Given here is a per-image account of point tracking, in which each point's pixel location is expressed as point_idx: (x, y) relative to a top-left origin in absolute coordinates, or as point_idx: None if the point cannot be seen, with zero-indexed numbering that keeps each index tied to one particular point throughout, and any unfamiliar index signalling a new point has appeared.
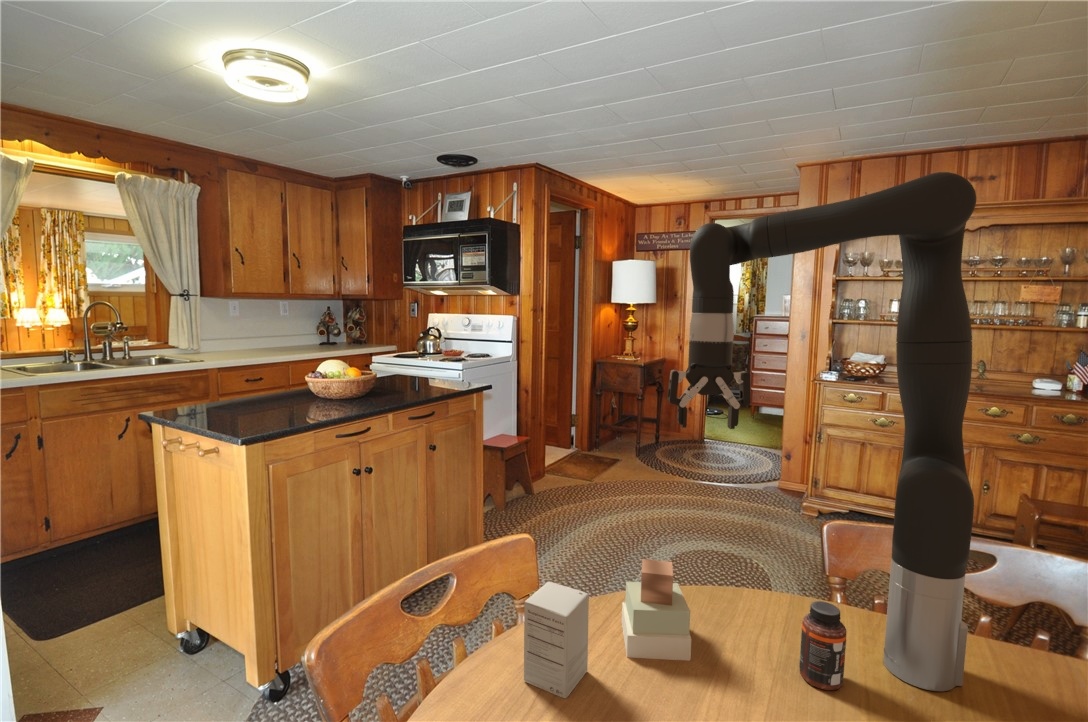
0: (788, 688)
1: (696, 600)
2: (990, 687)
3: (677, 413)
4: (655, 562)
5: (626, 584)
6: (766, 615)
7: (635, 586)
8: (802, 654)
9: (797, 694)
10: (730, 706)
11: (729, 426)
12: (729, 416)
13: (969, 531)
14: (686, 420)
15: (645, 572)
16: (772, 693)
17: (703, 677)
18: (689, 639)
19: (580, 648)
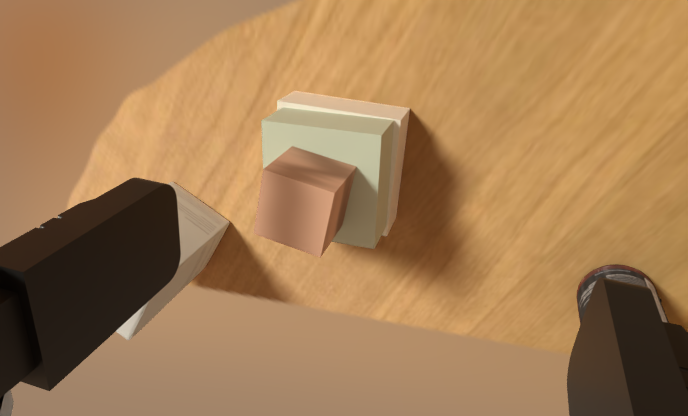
0: (536, 301)
1: (493, 3)
2: None
3: (25, 235)
4: (292, 191)
5: (262, 128)
6: (652, 83)
7: (279, 143)
8: (580, 312)
9: (542, 314)
10: (420, 315)
11: (578, 346)
12: (597, 406)
13: None
14: (137, 306)
15: (261, 235)
16: (501, 305)
17: (403, 258)
18: (383, 235)
19: (192, 267)
